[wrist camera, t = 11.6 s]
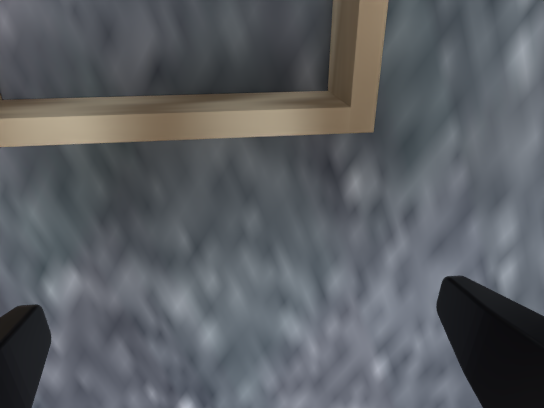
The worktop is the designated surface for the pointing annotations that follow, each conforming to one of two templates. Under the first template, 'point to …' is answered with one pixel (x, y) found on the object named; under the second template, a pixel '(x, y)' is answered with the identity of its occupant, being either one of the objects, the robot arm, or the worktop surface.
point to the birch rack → (222, 101)
